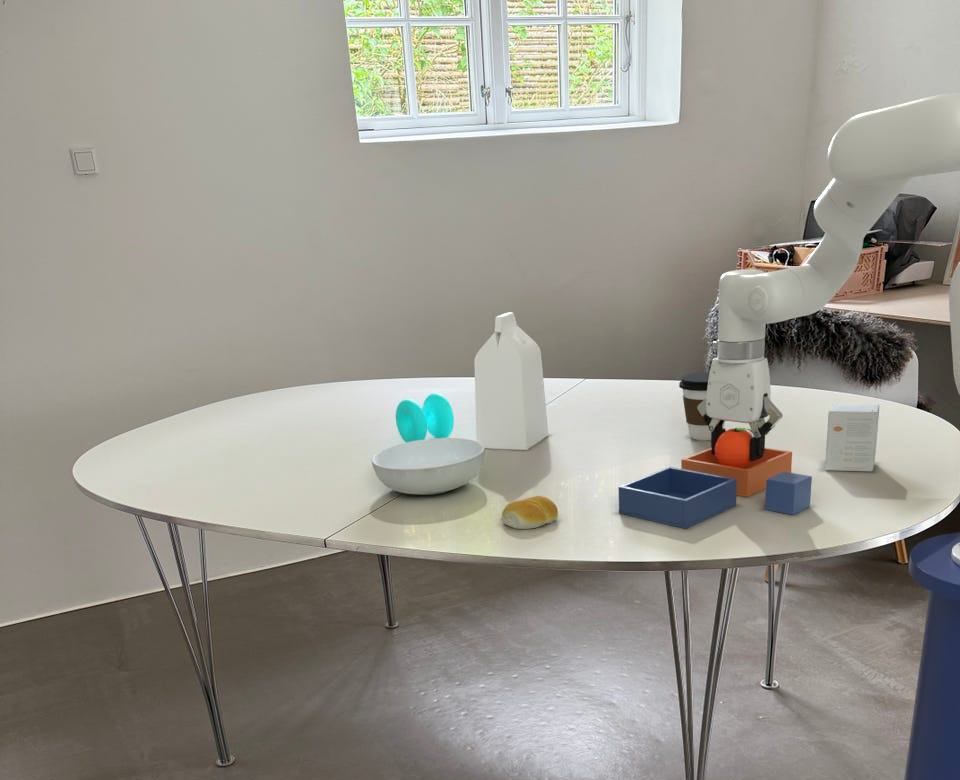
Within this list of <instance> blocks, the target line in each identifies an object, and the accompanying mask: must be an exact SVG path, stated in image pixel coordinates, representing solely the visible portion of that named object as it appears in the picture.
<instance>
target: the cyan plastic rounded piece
mask: <svg viewBox="0 0 960 780" xmlns="http://www.w3.org/2000/svg"><path fill="white" fill-rule="evenodd" d="M395 423H396V424H395V425H396V428H397V431H398V433H399V436H400V437H401V439H402V440H403V441H404V443H407V442H412V441H418V440H425V439H426V436H427V433H429V434H430V435H431V436H432V437H434V439H436V438H449V436H450V435H451V434H452V432H453V429H454V425H455V418H454V412H453V408H452V406H451V404H450V402H449V401H448V399H447V398H446V397H445V396H444V395H443V394H441V393H438V392H433V393H430V394H429V395H427V396H426V398H425V399H424V401H423V403H422V407H421V405H420V404H419V403H418V402H417V401H416V400H414V399H411V398H405V399H403V400H401V401H399V403H398V405H397V407H396V410H395Z"/></svg>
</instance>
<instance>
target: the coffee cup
mask: <svg viewBox="0 0 960 780" xmlns="http://www.w3.org/2000/svg"><path fill="white" fill-rule="evenodd" d="M709 373H710V371H704V372H702V371H701V372H694V373H690V374H685V375H683V376H682V377H681V379H680V381H679V383H678V387H679V388H680V389H682V401H683V407H684V414H685V421H686V423H687V430H688V435H689V437H690V438H691V439H692V440H696V441H711V432H710V431H709V430H708V425H707V424H706V423H705V421H704V420H703V416H702V415H701V414H700V412H699V410H698V409H697V406H698V405H699V404H700V403H701V402H702V401H703V400H705V399H706V397H707V387H708V379H709ZM723 428H724V429H725V424H724V425H723Z"/></svg>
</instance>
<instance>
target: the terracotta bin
mask: <svg viewBox="0 0 960 780" xmlns="http://www.w3.org/2000/svg"><path fill="white" fill-rule="evenodd" d="M680 461H681V463H680V464H681V465H680V466H681V467H680V469H685V470H690V471H696V472H701V473H707V474H712V475H718V476H723V477H729V478H734V479H737V490H736V496H738V497H739V496H740V497H744V498H748V497H750V496H752V495H755V494H757V493H760V492H761V491H763V490H766V481H767V479H769V478H771V477H773V476H775V475H777V474H780V473H782V472H789V473H792V465H793V464H792V463H793V451H790V450H783V449H778V448H769V447H765V450H764V454H763V457H762V458H760V459H758V460H755V461H751V462H750V463H749V464H748V465H746V466H745V467H743V468H736V467H731V466H725V465H721V464H720V463H719V461H718V460H717V457H716V455H712V448H711V447H710V448H707V449H705V450H702V451H699V452H697V453H694V454H692V455H688V456H686V457H684V458H682V459H681V460H680Z"/></svg>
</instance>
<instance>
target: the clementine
mask: <svg viewBox="0 0 960 780" xmlns="http://www.w3.org/2000/svg"><path fill="white" fill-rule="evenodd" d="M752 437H754V435H753V434H752V430H751V428H748V427H747V428H746V427H734V428H730V429H727V430H726V431H725V432H724V433H723V434H721V436H720V437H719V438H718V440H717V442H716V444H715V455H716V457H717V460H718V461H719V463H720V464H721V465H725V466H731V467H736V468H743V467H745V466H746V465H748V464H749V463H750V462H751V461H750V459H749V457H750V439H751V438H752Z"/></svg>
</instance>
